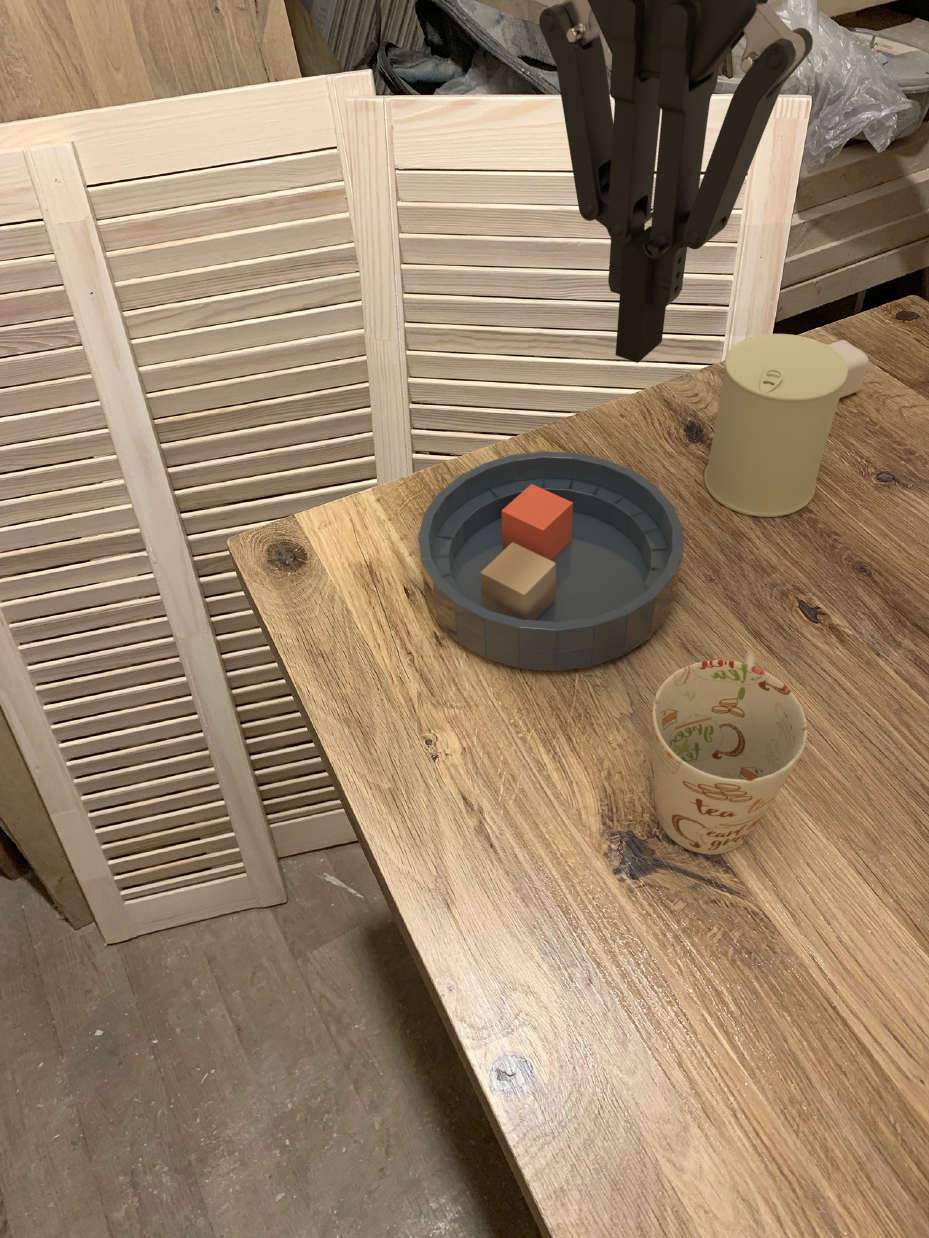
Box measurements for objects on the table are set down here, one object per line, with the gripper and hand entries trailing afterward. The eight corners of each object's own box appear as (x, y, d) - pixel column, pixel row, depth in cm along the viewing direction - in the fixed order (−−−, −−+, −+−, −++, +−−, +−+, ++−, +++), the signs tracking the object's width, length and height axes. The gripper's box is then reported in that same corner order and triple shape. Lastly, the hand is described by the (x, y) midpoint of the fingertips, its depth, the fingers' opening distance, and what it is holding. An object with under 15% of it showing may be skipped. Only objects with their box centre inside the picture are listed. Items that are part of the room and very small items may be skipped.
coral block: (571, 540, 75) (573, 502, 72) (542, 568, 73) (543, 530, 70) (531, 521, 77) (531, 483, 74) (502, 548, 75) (501, 510, 72)
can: (685, 494, 79) (705, 371, 70) (730, 438, 84) (754, 316, 75) (790, 532, 75) (824, 406, 66) (831, 470, 80) (868, 346, 71)
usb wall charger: (858, 394, 87) (870, 357, 84) (800, 416, 85) (809, 379, 83) (829, 374, 90) (839, 337, 87) (772, 395, 88) (780, 358, 85)
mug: (622, 848, 57) (635, 755, 49) (669, 695, 65) (687, 595, 57) (760, 891, 54) (796, 800, 47) (792, 727, 62) (827, 627, 55)
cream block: (555, 600, 70) (556, 562, 68) (524, 632, 68) (524, 594, 66) (513, 579, 72) (512, 541, 69) (482, 609, 70) (479, 572, 67)
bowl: (721, 558, 73) (731, 510, 70) (584, 719, 64) (588, 673, 60) (520, 470, 82) (520, 424, 79) (373, 600, 72) (365, 554, 69)
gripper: (499, -176, 38) (510, 344, 55) (805, -161, 32) (708, 417, 49) (600, -204, 41) (580, 291, 59) (889, -195, 35) (772, 352, 53)
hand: (638, 348), depth 54 cm, fingers closed
